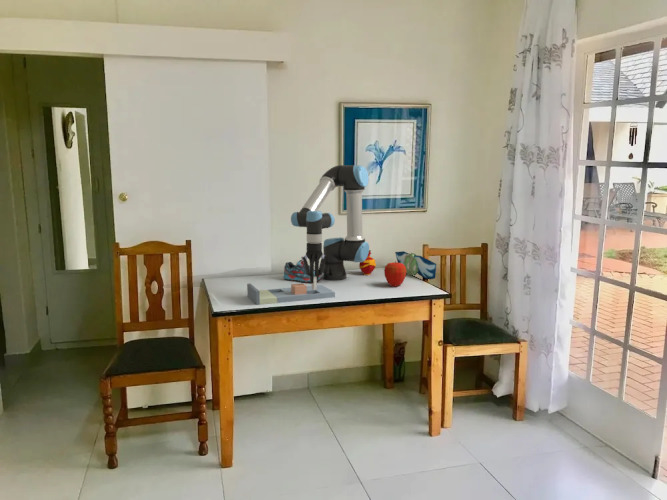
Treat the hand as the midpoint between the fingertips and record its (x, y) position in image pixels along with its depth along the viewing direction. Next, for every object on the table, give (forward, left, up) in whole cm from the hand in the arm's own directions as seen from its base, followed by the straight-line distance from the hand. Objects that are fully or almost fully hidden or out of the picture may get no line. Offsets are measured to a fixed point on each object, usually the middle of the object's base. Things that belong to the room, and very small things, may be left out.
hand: (314, 289), depth 265 cm
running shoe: (-7, -38, -4) cm, 39 cm away
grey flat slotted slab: (+10, -5, -4) cm, 12 cm away
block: (+8, -1, -2) cm, 8 cm away
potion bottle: (-49, -39, -4) cm, 62 cm away
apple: (-50, -7, -4) cm, 50 cm away
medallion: (-73, -27, -4) cm, 77 cm away
